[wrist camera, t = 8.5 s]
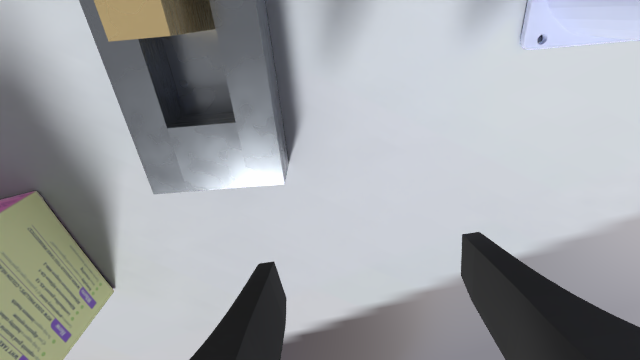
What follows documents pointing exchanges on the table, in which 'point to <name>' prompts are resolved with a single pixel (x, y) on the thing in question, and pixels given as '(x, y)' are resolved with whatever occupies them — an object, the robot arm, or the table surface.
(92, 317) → the box
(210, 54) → the block
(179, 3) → the clip
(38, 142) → the table surface
